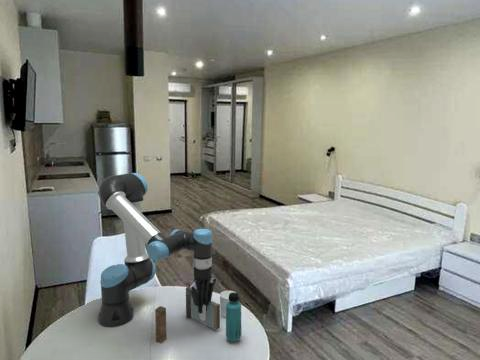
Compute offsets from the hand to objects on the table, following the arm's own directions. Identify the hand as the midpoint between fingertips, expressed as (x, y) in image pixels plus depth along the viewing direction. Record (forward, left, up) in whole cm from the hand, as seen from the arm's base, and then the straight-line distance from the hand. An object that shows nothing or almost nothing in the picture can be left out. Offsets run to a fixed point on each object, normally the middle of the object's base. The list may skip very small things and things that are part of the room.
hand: (202, 319), depth 145 cm
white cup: (+4, +17, -6) cm, 18 cm away
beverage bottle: (+15, +1, -6) cm, 16 cm away
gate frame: (-11, +4, -6) cm, 13 cm away
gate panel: (-2, +4, -5) cm, 7 cm away
